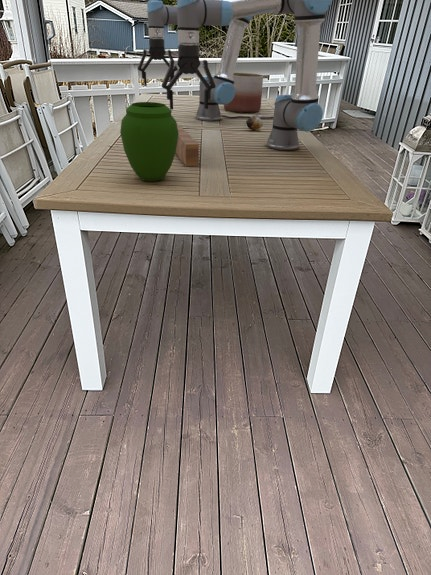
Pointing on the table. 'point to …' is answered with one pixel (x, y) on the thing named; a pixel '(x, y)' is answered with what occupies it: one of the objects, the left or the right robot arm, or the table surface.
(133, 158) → the vase
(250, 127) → the seashell
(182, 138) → the beam
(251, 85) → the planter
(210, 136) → the table surface
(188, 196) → the table surface
